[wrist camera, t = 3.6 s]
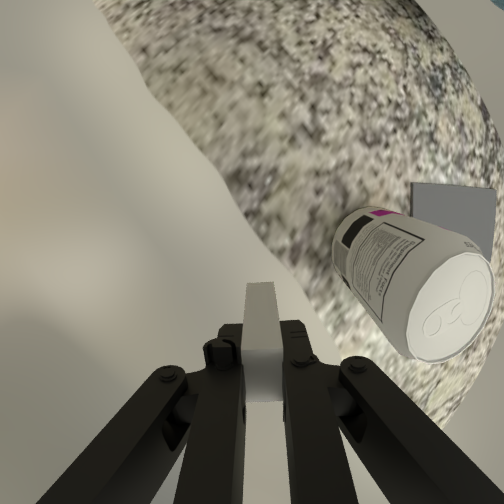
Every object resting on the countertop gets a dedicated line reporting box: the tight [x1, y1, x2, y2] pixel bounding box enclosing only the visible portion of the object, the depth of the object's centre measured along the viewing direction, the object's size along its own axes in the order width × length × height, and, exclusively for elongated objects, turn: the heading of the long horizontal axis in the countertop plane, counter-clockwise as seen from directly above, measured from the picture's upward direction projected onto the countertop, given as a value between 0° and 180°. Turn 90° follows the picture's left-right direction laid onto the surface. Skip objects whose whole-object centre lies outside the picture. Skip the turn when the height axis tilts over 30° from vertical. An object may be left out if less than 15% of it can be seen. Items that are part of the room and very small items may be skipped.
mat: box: [411, 183, 496, 263], centre depth 26 cm, size 13×14×1 cm
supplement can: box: [332, 206, 495, 364], centre depth 20 cm, size 8×8×15 cm
